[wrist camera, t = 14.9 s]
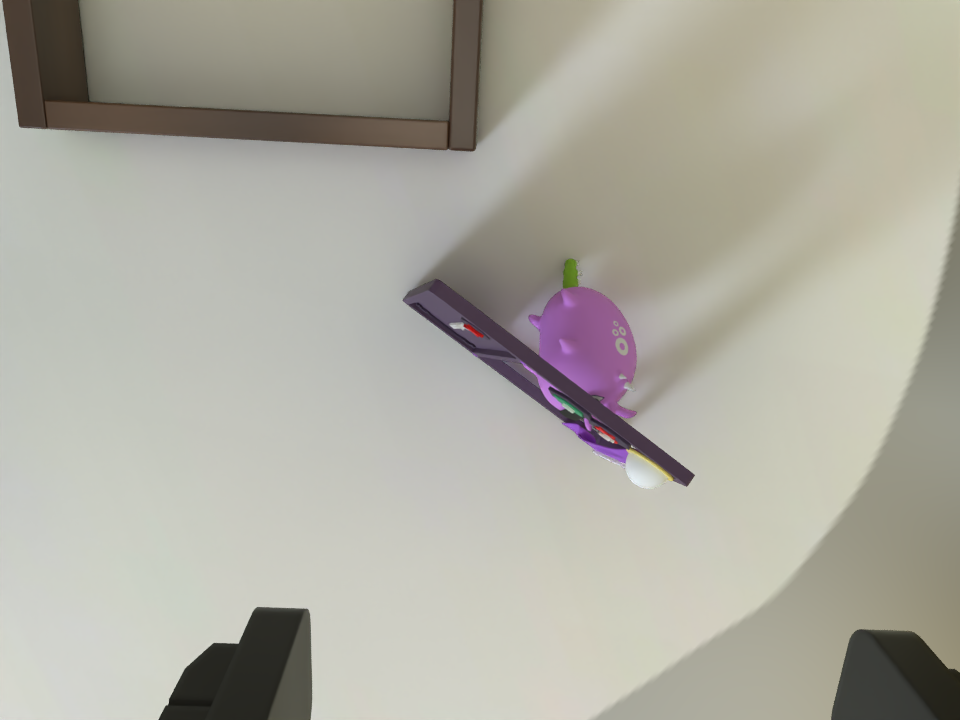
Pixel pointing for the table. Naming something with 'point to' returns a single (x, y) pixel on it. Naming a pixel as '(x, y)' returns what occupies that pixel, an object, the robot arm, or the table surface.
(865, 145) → the table surface
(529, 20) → the table surface
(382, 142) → the brown square frame
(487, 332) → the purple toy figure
